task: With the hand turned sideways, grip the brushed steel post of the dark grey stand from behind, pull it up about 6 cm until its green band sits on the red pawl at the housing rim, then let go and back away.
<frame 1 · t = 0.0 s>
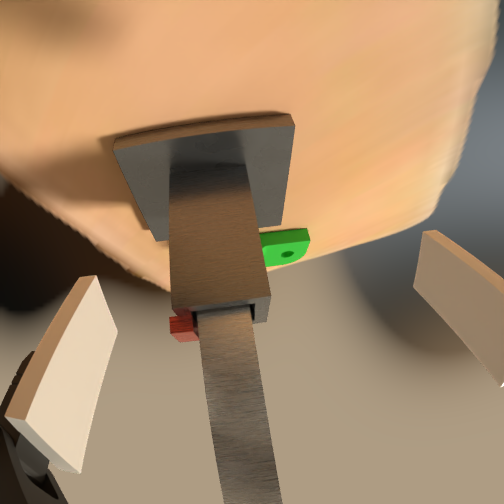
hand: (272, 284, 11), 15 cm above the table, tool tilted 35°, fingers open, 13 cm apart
mechanical part: (258, 242, 41), on the table
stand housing: (210, 180, 28), on the table
column: (229, 354, 21), point 16 cm above the table, slide at 0.0 cm
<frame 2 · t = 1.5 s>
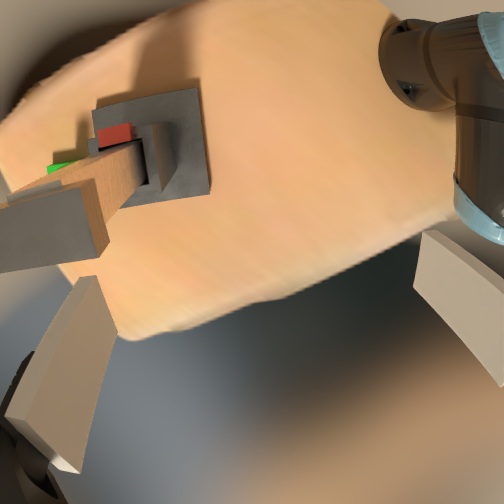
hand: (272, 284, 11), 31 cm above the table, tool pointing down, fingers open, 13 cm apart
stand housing: (151, 148, 37), on the table
column: (113, 171, 23), point 16 cm above the table, slide at 0.0 cm
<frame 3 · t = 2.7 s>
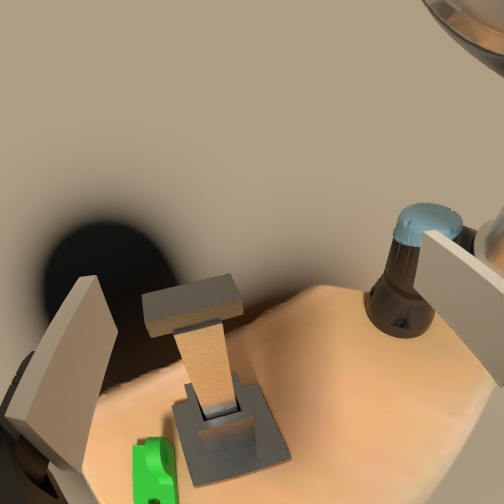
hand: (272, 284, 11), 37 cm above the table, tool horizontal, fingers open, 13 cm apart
mechanical part: (157, 484, 32), on the table
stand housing: (228, 436, 39), on the table
column: (213, 388, 30), point 16 cm above the table, slide at 0.0 cm
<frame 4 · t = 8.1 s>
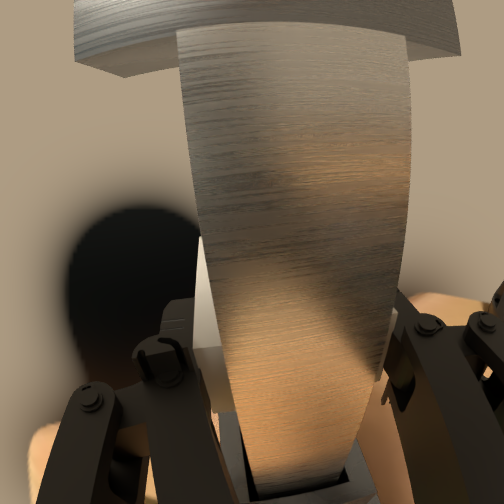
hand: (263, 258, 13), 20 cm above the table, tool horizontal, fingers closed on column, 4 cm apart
column: (292, 426, 10), point 16 cm above the table, slide at 0.0 cm, touching gripper
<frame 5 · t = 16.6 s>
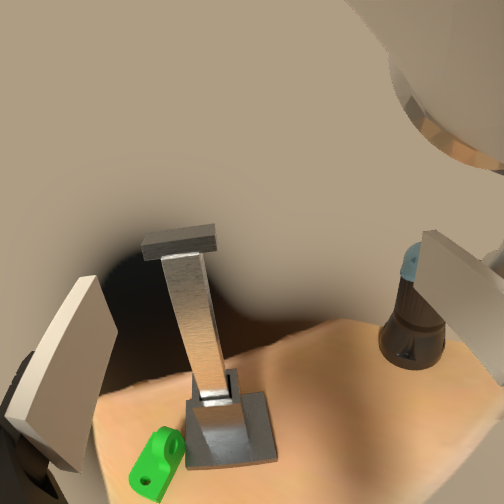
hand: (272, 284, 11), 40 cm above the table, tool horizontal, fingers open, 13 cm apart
mechanical part: (158, 469, 38), on the table
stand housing: (228, 432, 44), on the table
column: (202, 342, 35), point 22 cm above the table, slide at 6.0 cm
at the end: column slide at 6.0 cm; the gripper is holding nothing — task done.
